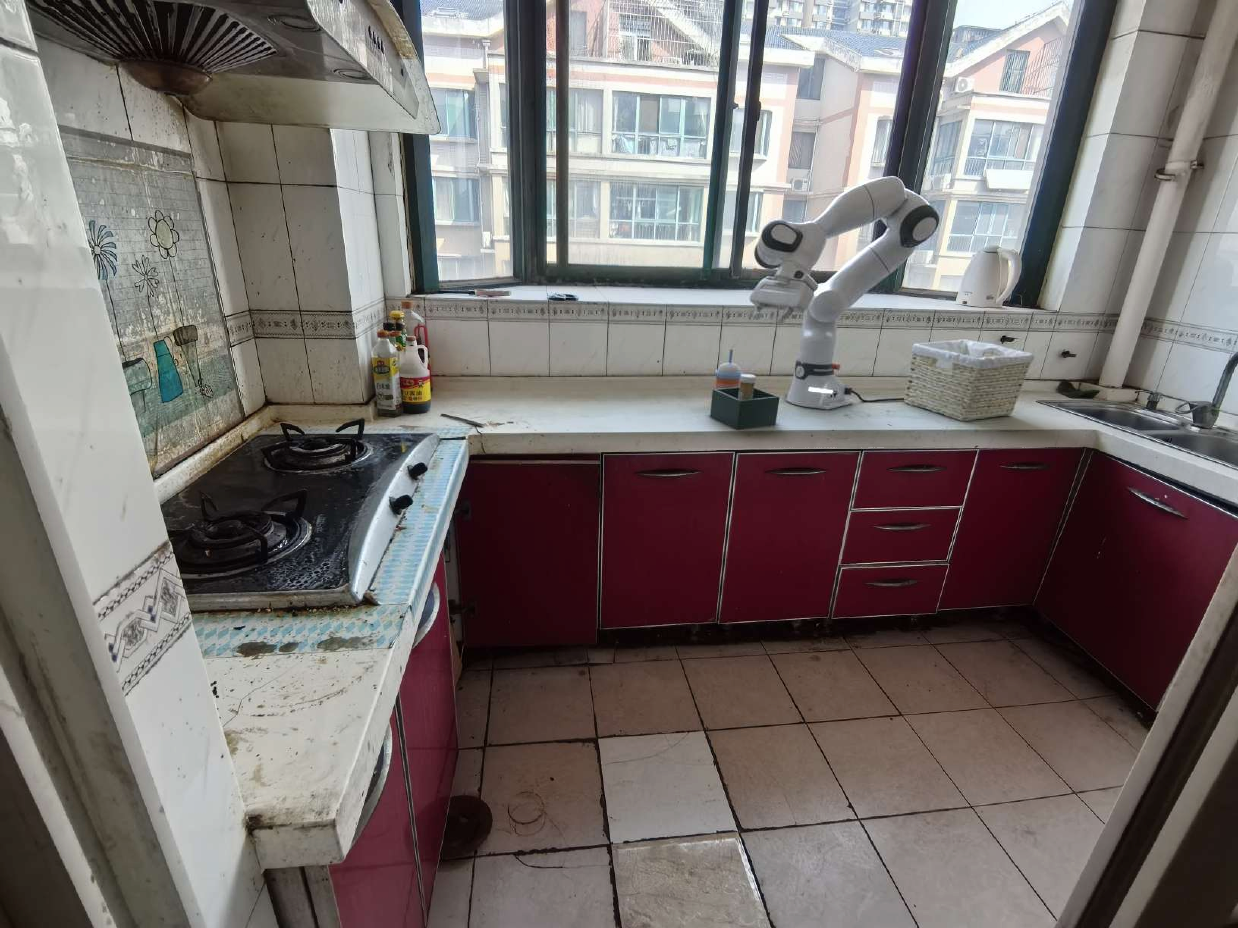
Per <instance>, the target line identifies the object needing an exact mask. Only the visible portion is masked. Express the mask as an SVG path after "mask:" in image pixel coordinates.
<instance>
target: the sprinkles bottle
mask: <svg viewBox="0 0 1238 928" xmlns="http://www.w3.org/2000/svg"><path fill="white" fill-rule="evenodd" d="M756 380H757V377H756V375H754V374H751V373H742V375H741V376H740V384H739V387H740V388H739V394H738V399H739V400H748V399H753V391H754V387H755V383H756Z"/></svg>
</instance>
